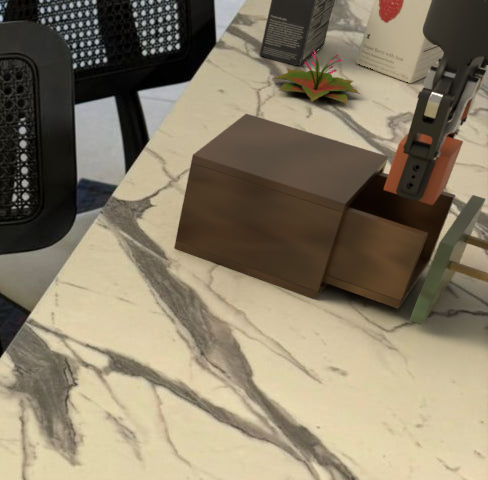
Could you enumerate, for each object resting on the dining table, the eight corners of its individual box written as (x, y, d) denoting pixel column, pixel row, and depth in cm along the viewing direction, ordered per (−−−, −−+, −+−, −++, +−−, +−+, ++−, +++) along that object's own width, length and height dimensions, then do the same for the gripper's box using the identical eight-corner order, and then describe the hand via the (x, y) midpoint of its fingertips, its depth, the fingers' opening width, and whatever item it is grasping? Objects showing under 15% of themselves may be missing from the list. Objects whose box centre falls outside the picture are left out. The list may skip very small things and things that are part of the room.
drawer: (515, 293, 96) (550, 218, 91) (487, 348, 89) (524, 269, 84) (321, 228, 103) (344, 155, 98) (280, 274, 96) (302, 197, 91)
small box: (281, 36, 149) (300, -42, 142) (324, 47, 147) (345, -32, 140) (255, 55, 142) (274, -25, 135) (300, 67, 140) (321, -14, 133)
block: (445, 188, 91) (463, 140, 88) (432, 205, 88) (450, 157, 85) (397, 173, 93) (413, 126, 90) (382, 190, 90) (399, 142, 87)
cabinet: (358, 247, 103) (388, 156, 96) (315, 299, 95) (345, 204, 88) (225, 202, 108) (246, 113, 102) (173, 248, 100) (192, 154, 93)
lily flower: (263, 97, 131) (271, 61, 128) (275, 67, 139) (284, 32, 136) (357, 116, 129) (368, 79, 125) (364, 84, 137) (375, 49, 134)
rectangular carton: (352, 64, 143) (386, -53, 133) (385, 51, 148) (420, -63, 138) (410, 85, 138) (450, -35, 128) (442, 71, 143) (483, -45, 133)
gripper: (520, 14, 73) (436, 231, 84) (558, -28, 82) (478, 172, 94) (417, -10, 76) (349, 202, 87) (465, -48, 85) (398, 148, 96)
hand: (416, 186), depth 90 cm, fingers closed on block, 4 cm apart
